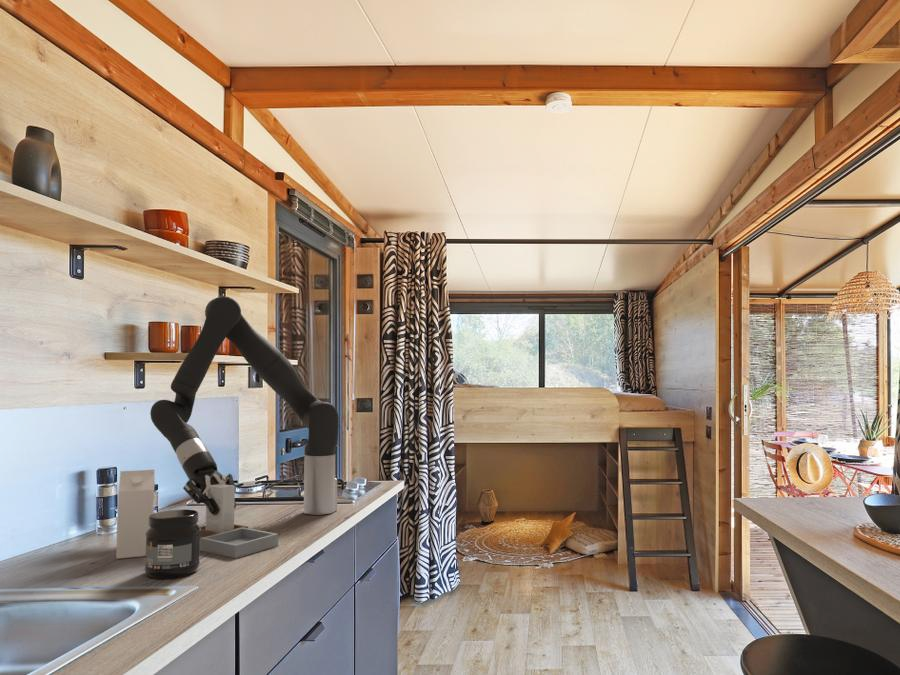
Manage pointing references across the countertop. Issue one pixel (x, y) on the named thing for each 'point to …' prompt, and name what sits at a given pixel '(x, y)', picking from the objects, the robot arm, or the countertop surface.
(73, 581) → the countertop surface
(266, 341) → the robot arm
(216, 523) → the skincare box
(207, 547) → the tray
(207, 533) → the holder
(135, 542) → the milk carton
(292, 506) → the countertop surface
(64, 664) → the countertop surface
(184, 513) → the supplement container
